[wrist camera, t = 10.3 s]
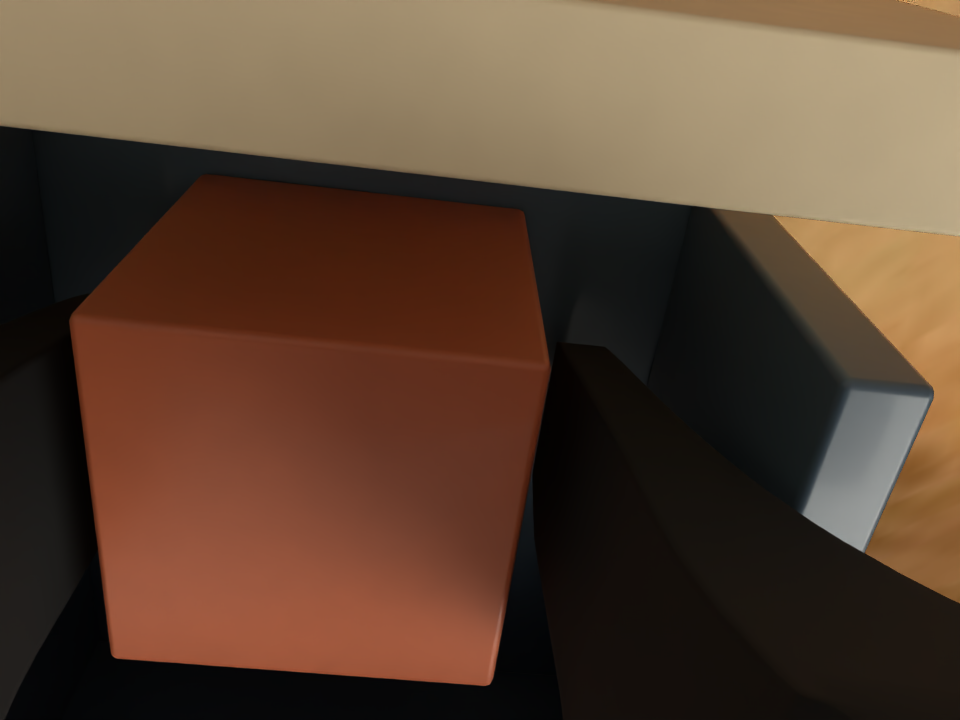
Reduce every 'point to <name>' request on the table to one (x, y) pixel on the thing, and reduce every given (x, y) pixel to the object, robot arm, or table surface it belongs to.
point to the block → (313, 430)
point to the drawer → (550, 225)
